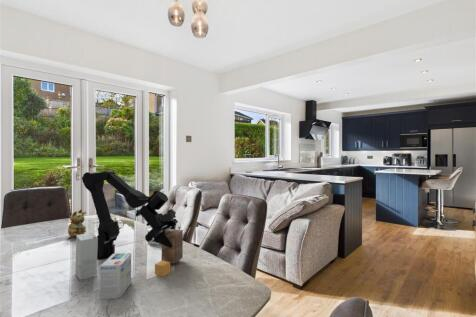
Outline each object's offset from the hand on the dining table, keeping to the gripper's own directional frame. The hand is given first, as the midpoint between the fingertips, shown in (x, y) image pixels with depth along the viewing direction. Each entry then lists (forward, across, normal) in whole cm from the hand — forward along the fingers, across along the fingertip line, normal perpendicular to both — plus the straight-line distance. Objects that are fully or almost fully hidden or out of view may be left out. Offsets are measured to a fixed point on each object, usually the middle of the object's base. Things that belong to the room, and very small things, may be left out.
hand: (175, 244), depth 109 cm
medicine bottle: (-10, +23, +21) cm, 33 cm away
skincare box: (-14, -17, +26) cm, 34 cm away
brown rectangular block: (+4, 0, +6) cm, 7 cm away
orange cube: (+5, -10, +6) cm, 13 cm away
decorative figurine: (-46, +23, +58) cm, 77 cm away
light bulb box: (0, -25, +12) cm, 28 cm away
